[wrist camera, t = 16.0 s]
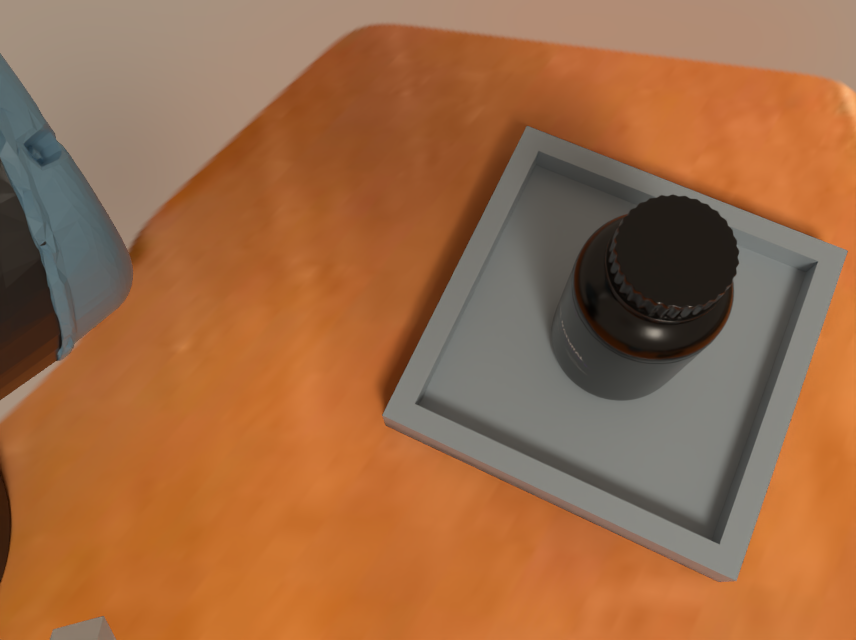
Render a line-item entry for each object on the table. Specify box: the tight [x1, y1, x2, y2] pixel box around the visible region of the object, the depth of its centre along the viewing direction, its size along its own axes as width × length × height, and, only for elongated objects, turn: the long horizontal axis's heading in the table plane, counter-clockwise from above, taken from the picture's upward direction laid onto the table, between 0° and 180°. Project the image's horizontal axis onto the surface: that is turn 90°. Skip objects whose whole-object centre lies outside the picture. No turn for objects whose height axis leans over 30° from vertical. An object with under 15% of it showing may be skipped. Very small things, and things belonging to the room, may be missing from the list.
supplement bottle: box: [551, 194, 739, 401], centre depth 36 cm, size 7×7×12 cm
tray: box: [382, 126, 848, 582], centre depth 42 cm, size 18×18×2 cm
